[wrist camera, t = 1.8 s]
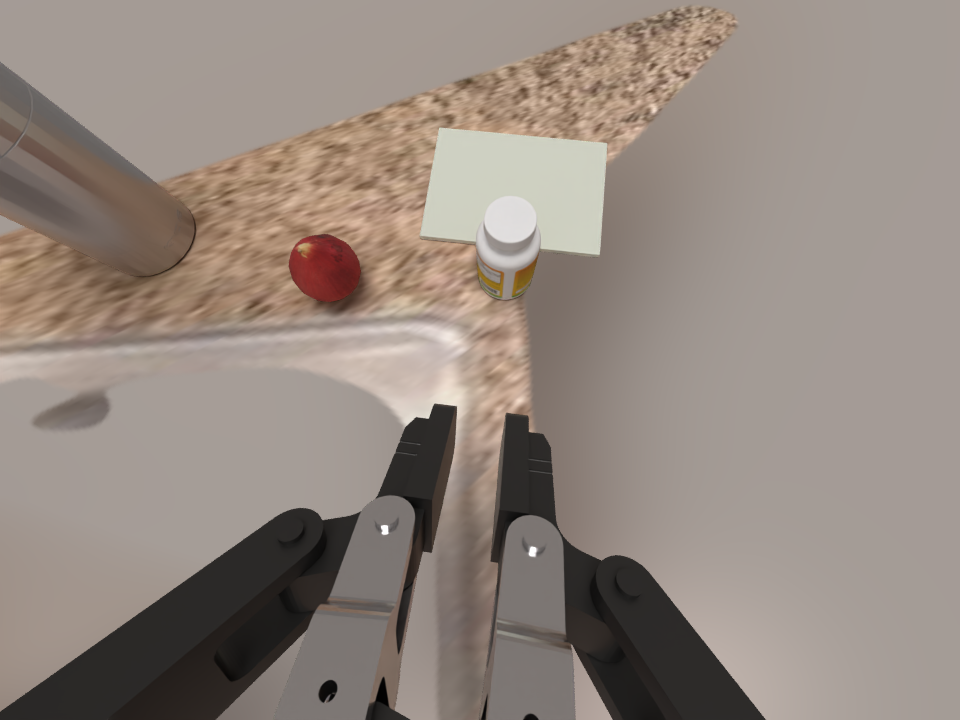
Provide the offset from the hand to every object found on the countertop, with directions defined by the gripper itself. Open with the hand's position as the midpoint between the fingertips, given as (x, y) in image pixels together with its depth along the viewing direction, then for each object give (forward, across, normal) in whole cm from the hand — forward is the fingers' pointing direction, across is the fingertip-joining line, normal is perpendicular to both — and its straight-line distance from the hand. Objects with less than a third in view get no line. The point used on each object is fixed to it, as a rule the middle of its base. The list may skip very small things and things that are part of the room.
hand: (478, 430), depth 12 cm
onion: (+25, +16, +6) cm, 30 cm away
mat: (+33, 0, -2) cm, 34 cm away
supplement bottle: (+27, 0, +4) cm, 27 cm away
